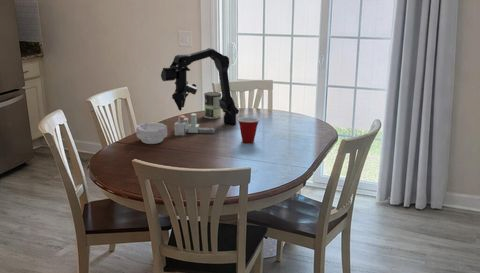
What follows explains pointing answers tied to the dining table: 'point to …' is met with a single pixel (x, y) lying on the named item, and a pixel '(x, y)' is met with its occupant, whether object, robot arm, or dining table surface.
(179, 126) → the grey blocky piece
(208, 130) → the rail
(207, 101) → the coffee can
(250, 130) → the plastic cup
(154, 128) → the paper bowls
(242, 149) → the dining table surface
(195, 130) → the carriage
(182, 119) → the orange knob lever
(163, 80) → the robot arm
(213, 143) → the dining table surface
